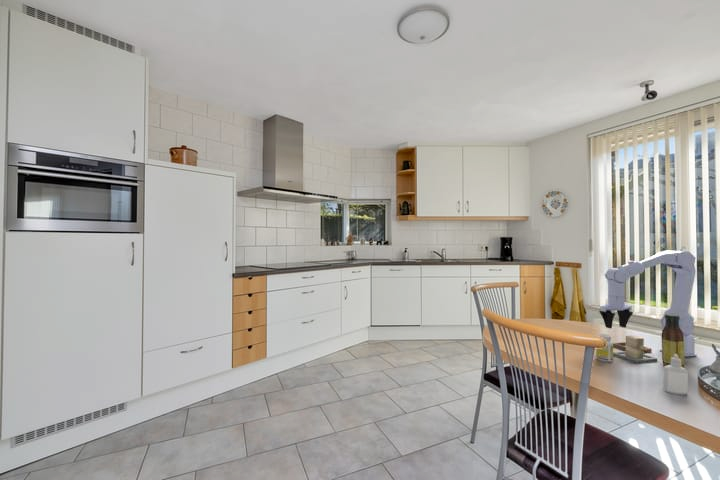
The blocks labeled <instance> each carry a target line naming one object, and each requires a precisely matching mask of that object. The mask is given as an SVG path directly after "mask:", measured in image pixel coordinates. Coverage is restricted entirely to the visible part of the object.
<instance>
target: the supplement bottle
mask: <svg viewBox="0 0 720 480" xmlns="http://www.w3.org/2000/svg"><path fill="white" fill-rule="evenodd" d="M597 335H598V336H600V337H603V338H604V339H606V341H607V346H606V347H605V348H602V349H596V350H595V353H596V355H595V357H596V359H597V360H598V361H602V362H607V363H611V362H613V360H614V355H613V352H614V347H613V343H614V342H612V341H611V339H612V336H611V335H610V334H604V333H598V334H597Z"/></svg>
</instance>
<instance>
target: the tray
mask: <svg viewBox="0 0 720 480" xmlns="http://www.w3.org/2000/svg"><path fill="white" fill-rule="evenodd" d="M625 354H626V351H624V350H621V351H613V357H614V356H615V357H617V358H620V359H623V360H625V361H628V362H631V363H633V364H641V363H642V364H643V363H653V362H654V363H655V362H658V358H657V357H654V356H651V355H649V354H646V353H644V354H643V358H639V359H635V358H632V357H629V356H626V355H625Z"/></svg>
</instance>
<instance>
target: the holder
mask: <svg viewBox="0 0 720 480" xmlns="http://www.w3.org/2000/svg"><path fill="white" fill-rule="evenodd" d="M612 343H613V348H615V349H618V350H621V351H626V341H618V342H612ZM652 351H653V349H652V348H650V347H647V346H644V354H646V353H648V354H649V353H652Z"/></svg>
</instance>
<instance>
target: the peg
mask: <svg viewBox="0 0 720 480" xmlns="http://www.w3.org/2000/svg"><path fill="white" fill-rule="evenodd" d="M644 340H645V339H644V337H639V336H636V335H626V336H625V342H626V346H625V347H626V354H625V355H626V356H629V357H632V358H635V359H639V358H643V354H645V353H644V347H645V345H644V344H645V341H644Z"/></svg>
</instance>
